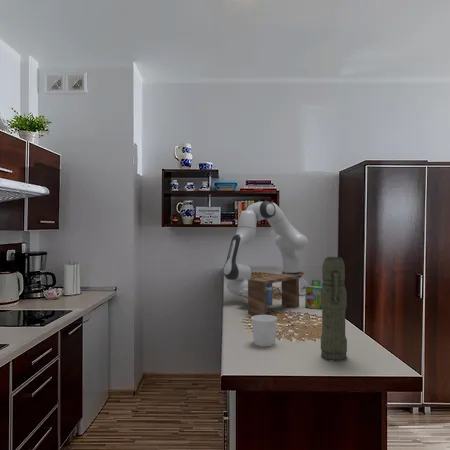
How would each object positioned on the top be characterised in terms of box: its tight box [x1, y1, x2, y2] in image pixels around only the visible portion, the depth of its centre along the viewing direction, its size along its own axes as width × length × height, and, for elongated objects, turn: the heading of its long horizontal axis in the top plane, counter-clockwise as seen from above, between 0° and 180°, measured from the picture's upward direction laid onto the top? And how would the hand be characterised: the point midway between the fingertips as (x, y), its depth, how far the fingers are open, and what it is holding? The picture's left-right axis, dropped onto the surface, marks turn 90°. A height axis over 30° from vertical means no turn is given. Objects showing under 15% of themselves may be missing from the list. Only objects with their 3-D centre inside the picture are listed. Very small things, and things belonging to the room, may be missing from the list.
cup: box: [250, 314, 278, 347], centre depth 153 cm, size 10×10×10 cm
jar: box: [266, 283, 273, 306], centre depth 210 cm, size 5×5×12 cm
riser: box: [247, 273, 300, 316], centre depth 207 cm, size 30×10×18 cm, turn 133°
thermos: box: [320, 256, 348, 362], centre depth 137 cm, size 9×12×35 cm
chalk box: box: [304, 279, 322, 310], centre depth 214 cm, size 9×9×15 cm
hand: (269, 292), depth 210 cm, fingers closed on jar, 5 cm apart
